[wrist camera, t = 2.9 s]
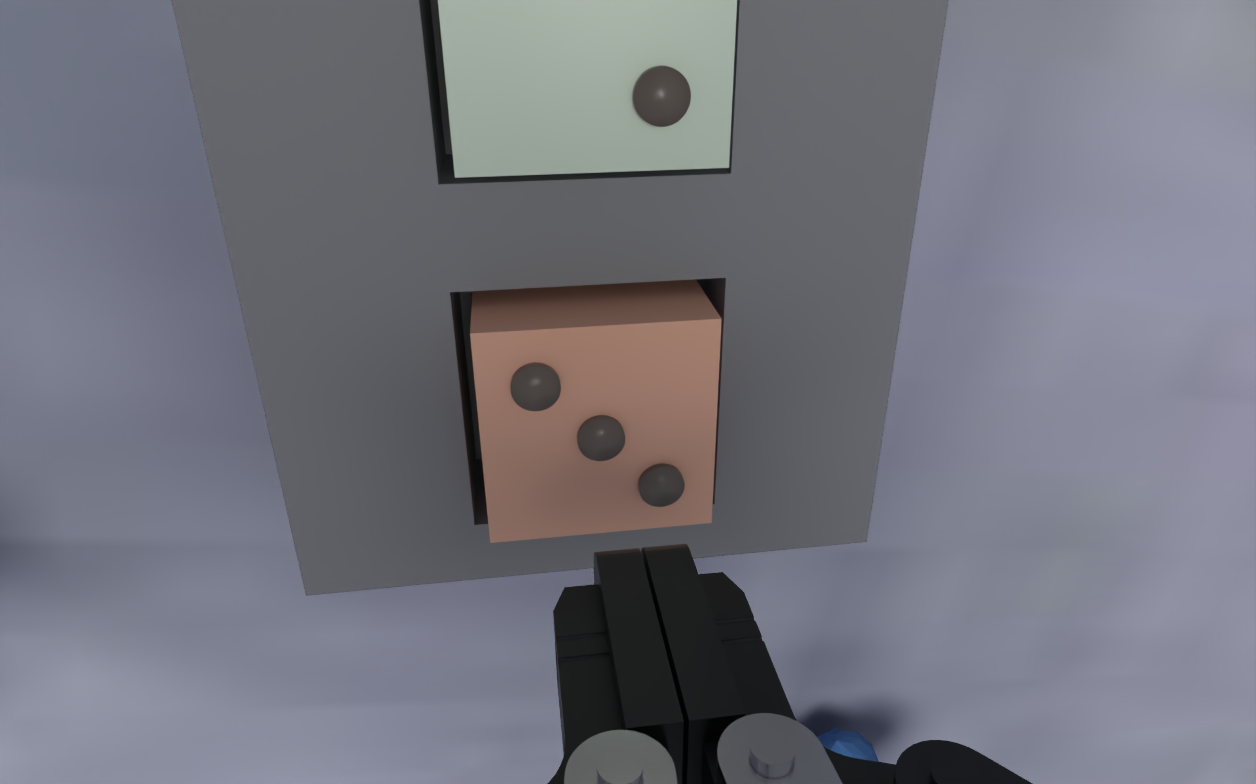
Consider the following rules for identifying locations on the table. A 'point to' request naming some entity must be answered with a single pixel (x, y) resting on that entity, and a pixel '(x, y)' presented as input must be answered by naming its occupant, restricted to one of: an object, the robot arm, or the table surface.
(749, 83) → the button board
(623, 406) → the three dot tile
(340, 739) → the table surface
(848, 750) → the grapes
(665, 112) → the two dot tile
